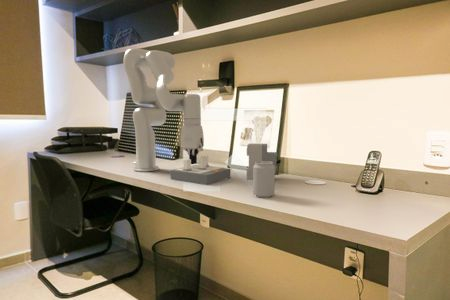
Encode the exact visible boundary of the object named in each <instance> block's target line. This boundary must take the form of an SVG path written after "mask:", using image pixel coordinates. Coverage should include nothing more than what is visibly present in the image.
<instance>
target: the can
mask: <svg viewBox="0 0 450 300" xmlns="http://www.w3.org/2000/svg"><path fill="white" fill-rule="evenodd" d="M275 177H276V172H275V166H274V165H273V162H270V161H257V162H255V165H254V166H253V180H252V185H253V186H252V194H253V195H256V196H255V197H257V196H258V197H257V198H260V197H269V198H272V197H273V196H274V195H275V193H276V192H275V190H276V189H275V186H276V185H275V183H276V182H275V181H276V179H275ZM271 196H272V197H271Z"/></svg>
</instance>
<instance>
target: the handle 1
mask: <svg viewBox="0 0 450 300" xmlns="http://www.w3.org/2000/svg"><path fill="white" fill-rule="evenodd" d="M182 162H183V163H182V164H183V167H184V169H183V170H192V169H191V166H192V164H191V159H189V158H186V159H183V161H182Z"/></svg>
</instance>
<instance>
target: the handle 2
mask: <svg viewBox="0 0 450 300" xmlns="http://www.w3.org/2000/svg"><path fill="white" fill-rule="evenodd" d="M201 158H206V166H210V164H209V156H208V155H202V156H201Z"/></svg>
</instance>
